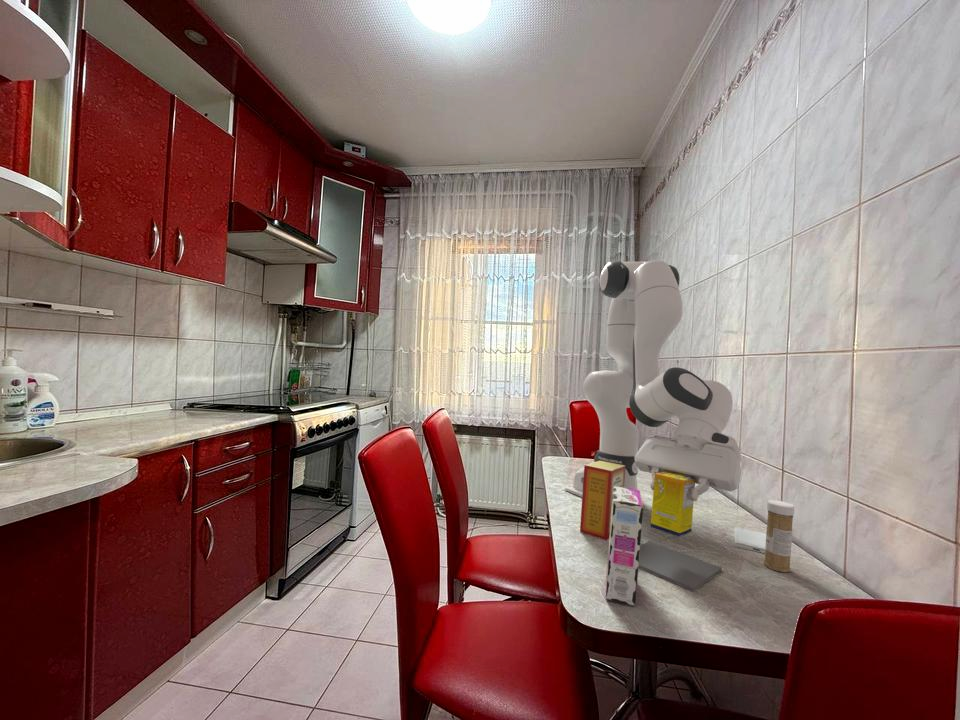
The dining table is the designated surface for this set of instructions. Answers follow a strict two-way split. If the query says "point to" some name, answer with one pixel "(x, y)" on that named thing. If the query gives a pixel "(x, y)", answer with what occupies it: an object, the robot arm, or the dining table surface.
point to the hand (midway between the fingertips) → (672, 494)
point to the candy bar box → (624, 546)
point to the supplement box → (672, 503)
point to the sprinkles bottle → (779, 535)
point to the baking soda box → (599, 496)
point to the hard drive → (750, 540)
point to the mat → (675, 566)
